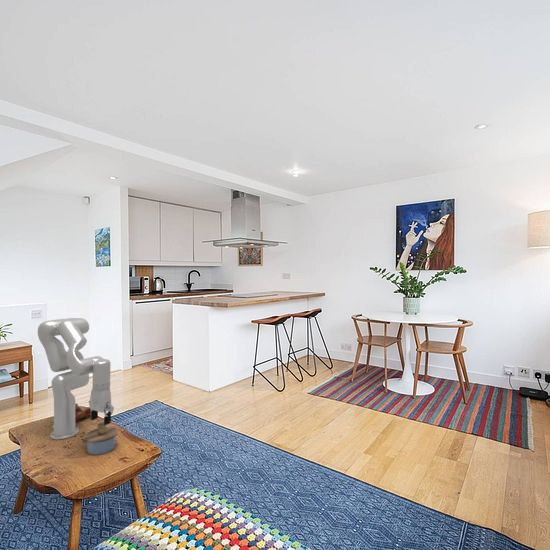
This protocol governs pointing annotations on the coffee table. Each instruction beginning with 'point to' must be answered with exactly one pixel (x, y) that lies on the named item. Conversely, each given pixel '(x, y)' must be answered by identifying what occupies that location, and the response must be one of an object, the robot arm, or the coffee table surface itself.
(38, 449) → the coffee table surface
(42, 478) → the coffee table surface
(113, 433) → the lid
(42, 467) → the coffee table surface
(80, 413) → the anatomical model
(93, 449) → the bowl
